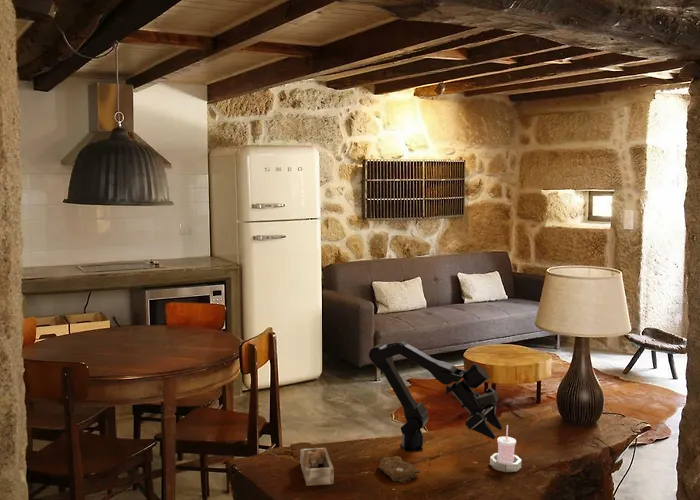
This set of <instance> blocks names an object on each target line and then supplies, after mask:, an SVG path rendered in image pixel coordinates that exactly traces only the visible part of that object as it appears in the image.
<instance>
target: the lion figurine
mask: <svg viewBox="0 0 700 500" xmlns="http://www.w3.org/2000/svg"><path fill="white" fill-rule="evenodd" d="M325 455H326V452H325V450H324V449H317V450H316V451H315V452H311V451H307V452H305V453H304V455H303V465H304V467H305V465H306V466H309V468H310V469H311V468H319V460H320V459H322V460H323V463H324V462H325Z"/></svg>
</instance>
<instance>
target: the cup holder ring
mask: <svg viewBox="0 0 700 500" xmlns="http://www.w3.org/2000/svg"><path fill="white" fill-rule="evenodd" d="M489 457H490V458H489V465H490V466H491V467H492V469H494V470H497V471H500V472H504V473H512V472H513V473H514V472H516V473H517V472H518V471H519V470H520V469H522V461H523V460H522V459H521V458H520V457H519V456H518V455H517V454H514V459H513V463H502V462H499V461H498V452H493V454H492V455H491V456H489Z"/></svg>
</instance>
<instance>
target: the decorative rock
mask: <svg viewBox="0 0 700 500" xmlns="http://www.w3.org/2000/svg"><path fill="white" fill-rule="evenodd" d="M378 468H379V469H380V470H381V471H383V473H384V474H386V475H387V476H388V477H389V478H390V479H391V480H392V482H400V483H401V482H402V483H403V484H406V483H407V482H411V480H412V479H415V478H416V474H420V473H421V471H420V470H418V469H417V466H415V465H413V464H411V463H409V462H407V461H405V460H403V458H401V456H399V455H393V456H384V457H382V458H381V460H380V463H379V465H378Z"/></svg>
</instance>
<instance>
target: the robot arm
mask: <svg viewBox="0 0 700 500" xmlns="http://www.w3.org/2000/svg"><path fill="white" fill-rule="evenodd" d="M397 355H401V356H402V357H404V358H406V359H408V360H409V361H411V362H412V363H415V364H416V365H418V366H419V367H421V368H423V369H425V371H426V370H427V371H428V372H429V373H430V374H431V375H432V376H433V378H434V379H436V380H437V381H438V382H439V383H441V384H442V385H446V386H445V395H450V393H452V394H453V395H454V396H455V397H456V399H457V400H458V401H459V402H460V403H461V405H460V407H461V408H462V409H463V408H464V409H466V410H467V412H468V413H469V415H468V416H469V417H468V419H467V420H465V427H466V428H467V429H468V430H469V431H470V430H471V431H475V432H477V433H478V434H479V433H480V434H481V435H484V436H485V437H487V438H489V439H492V440H495V439H496V438H497V437H496V435H495V433H494V432H493V431H492V428H491V427H490V426H489V424H490V425H491V426H493V427H494V428H496V429H498V430H499V431H501V430H502V429H503V426H502V424H501V422H500V420H499V417H498V415H497V411H496V410H497V405H496V404H497V402H498V401H499V398H498V394H499V393H498V391H496V389H495V390H494V389H493V388H492V387H489V388H487V389H486V391H485V392H484V393H482V394H480V393H479V392H478V391H477V392H476V391H474V390H473V389H478V388H479V387H481V385H483V384H484V383H485V382H486V381H488V380H489V379H490V376H489V373H488V371H487V370H486V369H485V368H484V367H482V366H480V365H479V364H477V363H476V362H474V363H473V364H472V365H471V366H470V367H469V368H468V369H463V368H458V367H456V366H455V364H452V363H449V362H446V361H444V360H438V359H435V358H433V357H431V356H430V355H428V354H426V353H425V352H424V351H421V350H419V349H417V348H416V347H415V346H412V345H411V344H409V343H407V342H406V341H405V340H400V341H397V342H392V343H388V344H386V343H379V344H377V345H375V346H373V347H372V348H371V349H370V351H369V352H368V358H369V360H370V361H371V363H372V364H373V365H374V366H375V368H377V369H378V370H379V371H380V372H382V373H383V375H384V377H385V378H386V380H387V381H388V384H389V385H390V387H391V389H392V391H393V392H394V394H395V397H396V398H397V399H398V402H400V405H401V406H402V409H403V414H404V419H405V421H406V422H405V423H404V424H403V425H402V426H401V427H400V431H401V442H400V446H401V447H402V449H403V451H404V452H415V451H417V452H418V451H419V450H420V451H423V445H424V435H423V434H422V433H423V432H422V430H421V429H422V428H424V426H425V425H426V424H427V423H428V421H429V415H428V413H429V410H428V409H427V408H426V407H425V405H424V403H423V402H420V403H419V402H417V401H416V400H415V398H414V397H413V395H412V394H411V392H410V391H409V389H408V387H407V385H406V383H405V382H404V380H403V378H402V377H401V375H400V373H399V371H398V370H397V368H396V366H395V363H394V358H393V357H394V356H397Z"/></svg>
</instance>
